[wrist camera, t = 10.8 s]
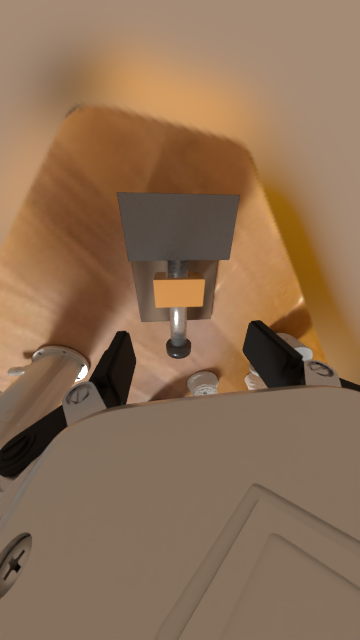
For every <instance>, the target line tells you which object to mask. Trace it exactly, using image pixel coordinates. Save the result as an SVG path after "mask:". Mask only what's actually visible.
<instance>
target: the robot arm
mask: <svg viewBox="0 0 360 640" xmlns="http://www.w3.org/2000/svg"><path fill="white" fill-rule="evenodd" d="M243 353H244V354H245V356H246V357H247V359H248V360H249V362H250V363H251V365H252V366H253V367H254V369H255V370H256V372H257V373H258V375H259V376H260V378H261V379H262V380H263V382H264V383H265V385H266V386H267V388H265V389H256V390H246V391H237V392H228V393H218V394H209V395H200V396H192V397H183V398H174V399H166V400H157V401H149V402H142V403H134V404H127V405H126V402H127V398H128V394H129V390H130V386H131V381H132V377H133V373H134V369H135V365H136V357H135V353H134V350H133V346H132V342H131V338H130V335H129V333H127V332H126V331H118V332H117V333H116V335H115V337H114V339H113V340H112V342H111V344H110V346H109V348H108V350H106V351H105V352H104V354H103V355H102V357H101V359H100V361H99V363H98V365H97V366H96V368H95V370H94V372H93V374H92V375H91V377H90V379H89V381H88V382H82V383H79V384H77V385H75V386H74V387H72V385H73V384H74V382H75V381H79V380H81V379H83V378H84V377H85V376H86V375H87V373H88V371H89V364H88V362H87V360H86V359H85V357H84V356H83V355H81V354H80V353H79V352H77V351H75V350H73V349H70V348H68V347H64V346H57V345H51V346H45V347H42V348H40V349H39V350H38V351H36V352H35V353H34V354H33V356H32V363H31V364H30V365H26V366H24V367H12V368H10V369H9V370H8V375H9V376H16V375H21V376H20V377H19V378H18V379H17V380H16V381H15V382H14V383H12V384H11V385H10V386H9V387H8V388H7V389H6V390H5V391H4V392H3V393H2V394H1V395H0V640H360V385H357V384H354V383H352V382H349V381H346V380H344V379H341V378H339V377H338V374H337V372H336V371H335V370H334V369H333V368H332V367H330V366H329V365H327V364H325V363H323V362H320V361H317V360H311V359H309V360H306V361H305V362H304V361H303V360H302V359H303V357H304V356H302V355H301V354H300V353H299V352H298V351H296V350H295V349H294V348H293V347H292V346H290V345H289V344H288V343H287V342H286V341H284V340H283V339H282V338H281V337H280V336H278V335H277V334H276V333H275V332H274V331H272V330H271V329H270V328H269V327H268V326H267V325H265V324H264V323H263V322H262V321H260V320H256V321H251V323H249V325H248V329H247V334H246V338H245V342H244V346H243ZM71 387H72V388H71ZM70 388H71V389H70ZM61 402H62V405H61V406H59V405H60V404H61Z"/></svg>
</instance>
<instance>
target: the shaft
mask: <svg viewBox="0 0 360 640" xmlns="http://www.w3.org/2000/svg"><path fill="white" fill-rule="evenodd" d="M168 277H188V260H177V261H168ZM186 328H187V307H170V329H171V339H169V340H168V341H167V343H166V350H167V354H168V355H169V356H170V357H172V358H176V359H181V358H185V357H187V356H188V355H189V354H190V352H191V342H190V341H189V340H188V339H187V338H186Z"/></svg>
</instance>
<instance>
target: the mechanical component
mask: <svg viewBox="0 0 360 640" xmlns="http://www.w3.org/2000/svg"><path fill="white" fill-rule="evenodd" d="M217 385H218V379H217V377H216V375H215V374H214V373H212V372H208V371H201V372H197V373H195V374H193V375H192V376H190V378H189V379H188V381H187V387H188V389H189V391H191V392H192V393H193V396H200V395H209V394H216V393H217V388H216V387H217Z"/></svg>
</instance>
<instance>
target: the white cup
mask: <svg viewBox="0 0 360 640" xmlns="http://www.w3.org/2000/svg"><path fill="white" fill-rule="evenodd" d="M245 382H246V384H247V386H248V388H249V390H256V389H265V388H267V386H266V385H265V383H264V382H263V380H262V379H261V378H260V376H256V375H254V374H253V373H252V372H250V373H249V374H248V375H247V376H246V377H245Z"/></svg>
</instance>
